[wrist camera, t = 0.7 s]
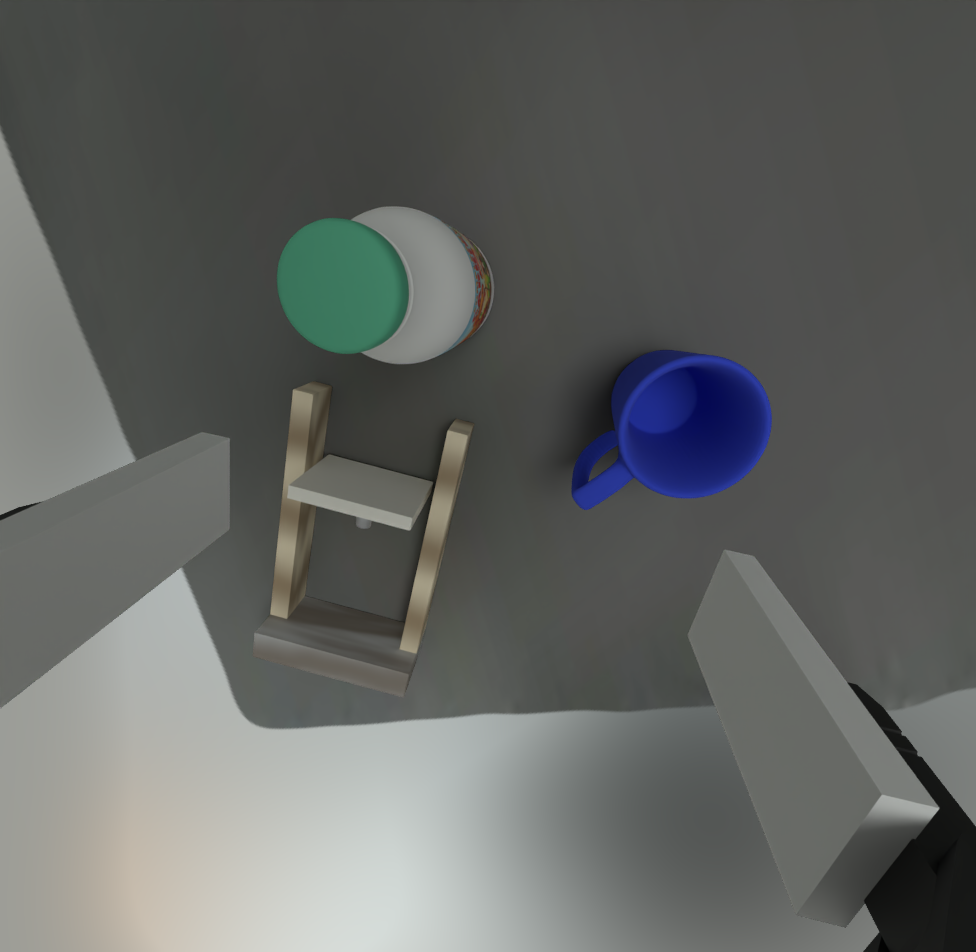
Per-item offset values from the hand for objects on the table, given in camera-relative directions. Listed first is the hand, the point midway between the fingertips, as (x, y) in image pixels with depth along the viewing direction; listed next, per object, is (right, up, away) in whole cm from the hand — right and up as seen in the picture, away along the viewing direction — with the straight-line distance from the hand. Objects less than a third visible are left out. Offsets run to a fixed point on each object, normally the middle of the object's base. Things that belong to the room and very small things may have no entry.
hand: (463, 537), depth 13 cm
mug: (+12, +7, +25) cm, 28 cm away
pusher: (-9, 0, +29) cm, 30 cm away
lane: (-9, -3, +30) cm, 32 cm away
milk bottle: (-3, +15, +23) cm, 28 cm away
